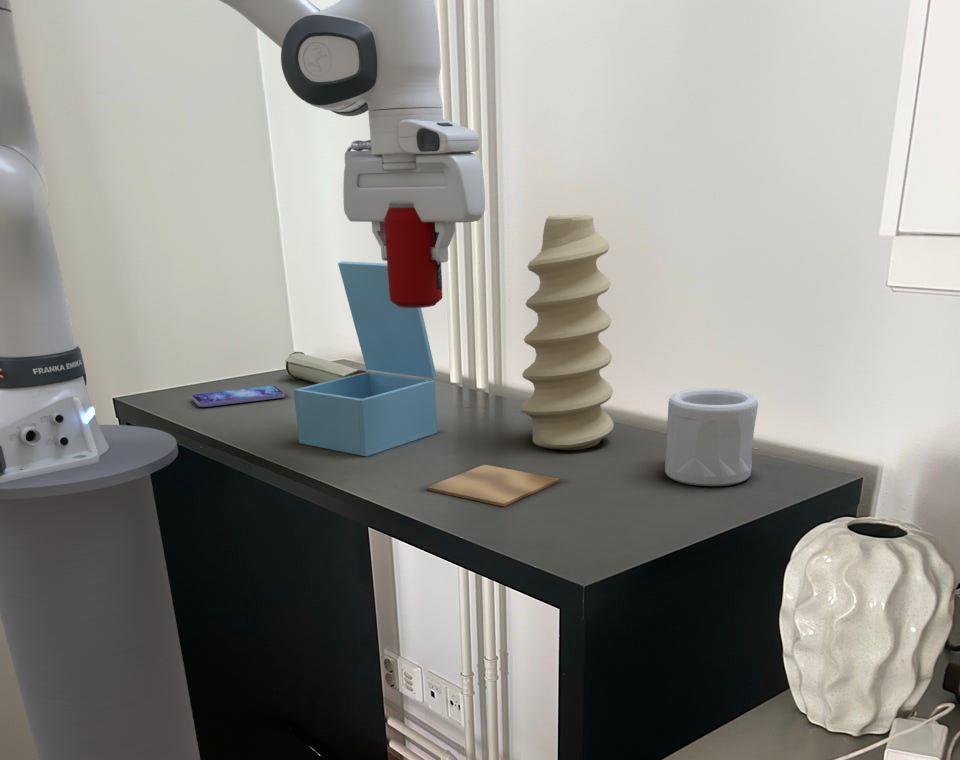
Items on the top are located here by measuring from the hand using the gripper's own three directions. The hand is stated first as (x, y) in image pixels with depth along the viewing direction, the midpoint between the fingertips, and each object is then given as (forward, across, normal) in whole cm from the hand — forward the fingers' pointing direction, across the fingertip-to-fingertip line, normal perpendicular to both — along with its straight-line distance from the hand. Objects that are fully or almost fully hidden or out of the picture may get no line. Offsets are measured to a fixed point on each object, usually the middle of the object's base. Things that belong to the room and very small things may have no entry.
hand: (414, 261), depth 124 cm
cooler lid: (+10, -15, +11) cm, 21 cm away
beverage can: (+6, 0, 0) cm, 6 cm away
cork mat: (+26, +14, -4) cm, 30 cm away
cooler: (+26, -16, +5) cm, 31 cm away
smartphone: (+26, -54, +13) cm, 61 cm away
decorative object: (+26, +10, +19) cm, 34 cm away
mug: (+26, +34, +15) cm, 45 cm away
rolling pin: (+26, -46, +28) cm, 60 cm away
